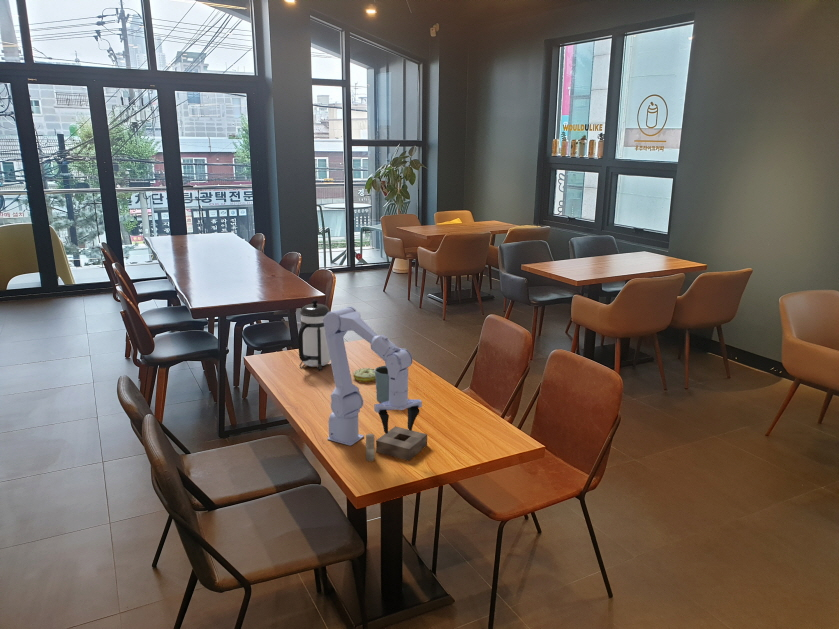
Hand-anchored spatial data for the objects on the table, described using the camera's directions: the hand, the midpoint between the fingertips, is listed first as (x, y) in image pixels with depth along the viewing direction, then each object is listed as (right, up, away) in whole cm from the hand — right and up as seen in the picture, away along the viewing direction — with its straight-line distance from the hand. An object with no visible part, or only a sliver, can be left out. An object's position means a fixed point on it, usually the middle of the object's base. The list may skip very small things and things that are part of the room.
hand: (397, 430), depth 194 cm
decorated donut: (-15, +8, +69) cm, 72 cm away
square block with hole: (+1, -7, +9) cm, 12 cm away
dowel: (-9, -9, +2) cm, 13 cm away
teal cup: (-5, +3, +49) cm, 49 cm away
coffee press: (-39, +13, +82) cm, 92 cm away
